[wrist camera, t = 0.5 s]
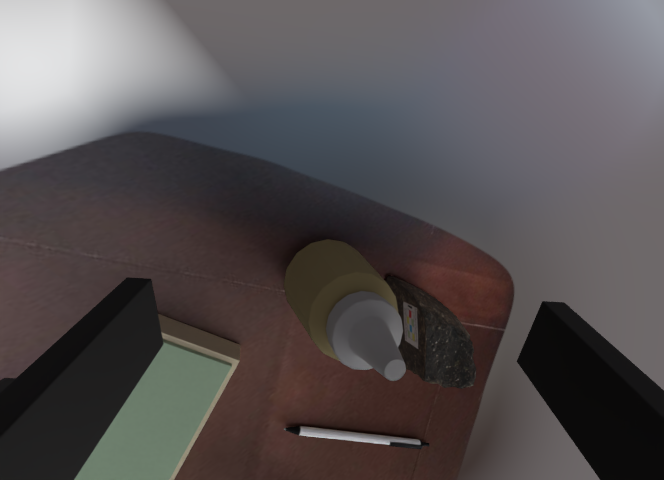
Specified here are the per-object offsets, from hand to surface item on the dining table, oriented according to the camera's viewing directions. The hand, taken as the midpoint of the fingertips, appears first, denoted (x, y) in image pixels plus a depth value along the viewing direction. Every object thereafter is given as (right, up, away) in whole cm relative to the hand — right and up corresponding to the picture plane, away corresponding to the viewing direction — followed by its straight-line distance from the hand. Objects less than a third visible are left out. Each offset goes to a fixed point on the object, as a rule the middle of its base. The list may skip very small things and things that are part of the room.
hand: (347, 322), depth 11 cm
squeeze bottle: (-2, 0, +22) cm, 22 cm away
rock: (+8, -6, +26) cm, 28 cm away
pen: (+3, -20, +27) cm, 34 cm away
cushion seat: (-19, -13, +20) cm, 30 cm away
